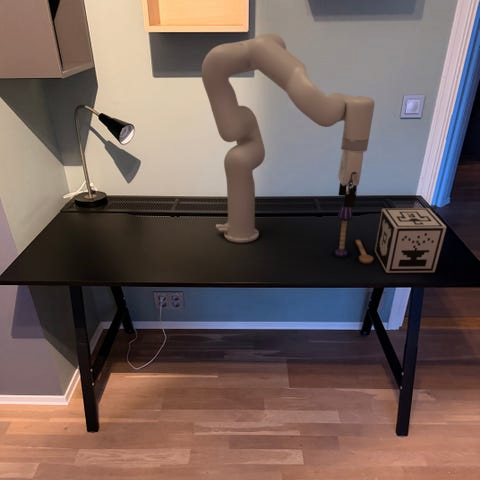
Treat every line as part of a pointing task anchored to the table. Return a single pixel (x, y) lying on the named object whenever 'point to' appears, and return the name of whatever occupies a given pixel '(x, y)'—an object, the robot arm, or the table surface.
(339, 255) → the toy lamp
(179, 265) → the table surface
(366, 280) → the table surface
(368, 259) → the wooden spoon
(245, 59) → the robot arm
